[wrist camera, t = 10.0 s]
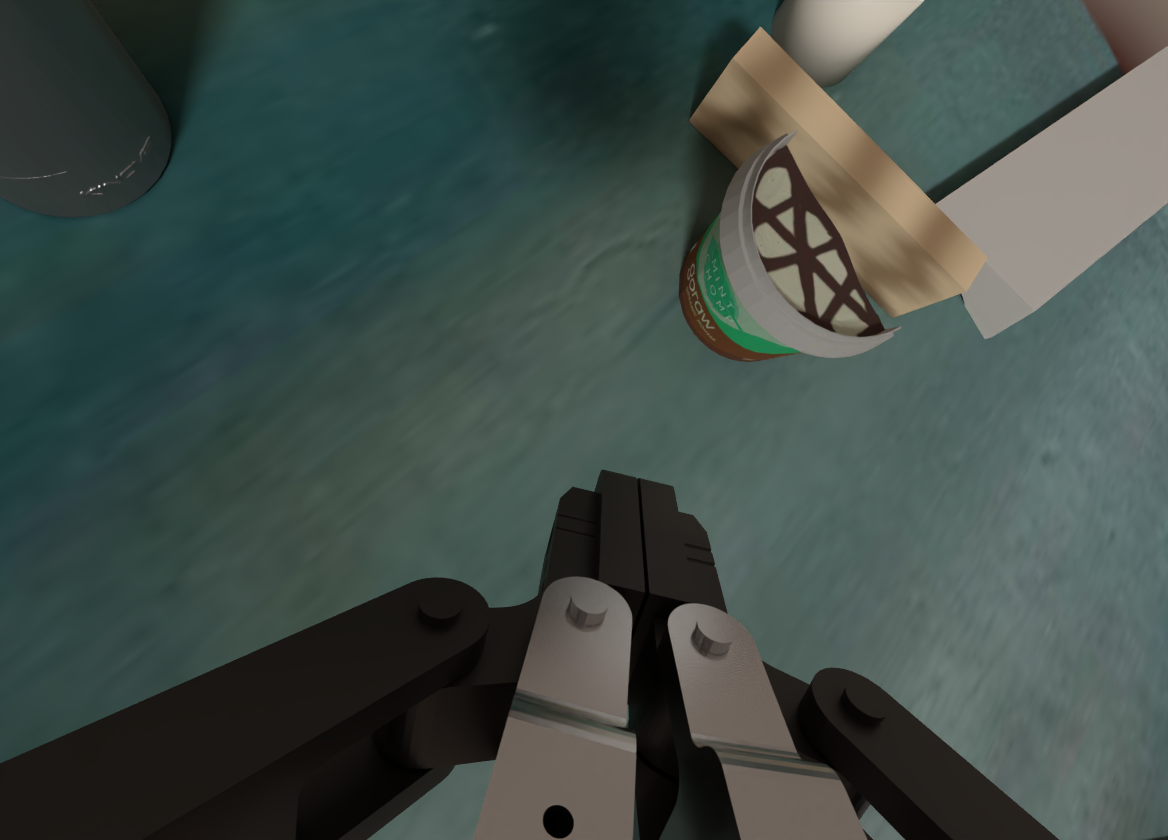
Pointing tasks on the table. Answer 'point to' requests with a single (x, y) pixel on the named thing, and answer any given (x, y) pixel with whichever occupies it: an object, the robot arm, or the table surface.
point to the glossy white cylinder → (835, 33)
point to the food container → (775, 271)
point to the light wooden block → (841, 178)
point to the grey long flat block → (1065, 196)
